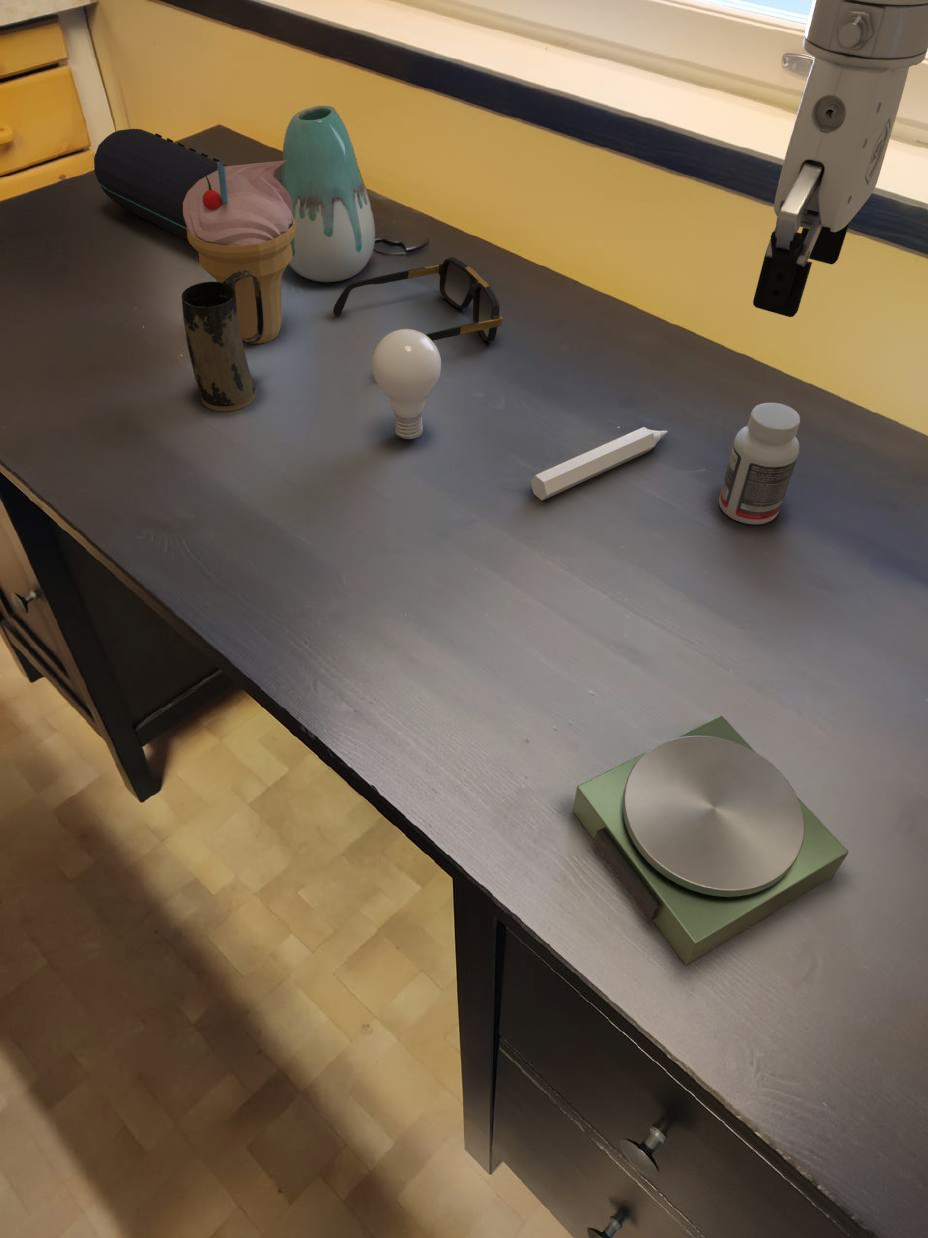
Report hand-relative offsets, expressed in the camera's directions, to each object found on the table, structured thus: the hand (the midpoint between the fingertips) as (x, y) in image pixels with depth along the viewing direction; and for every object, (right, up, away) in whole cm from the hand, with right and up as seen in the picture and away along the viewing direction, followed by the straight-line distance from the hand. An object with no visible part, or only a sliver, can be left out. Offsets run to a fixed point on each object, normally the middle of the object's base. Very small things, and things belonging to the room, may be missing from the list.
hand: (795, 283), depth 70 cm
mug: (-48, -2, +25) cm, 54 cm away
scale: (-10, -40, -10) cm, 42 cm away
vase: (-42, +17, +43) cm, 62 cm away
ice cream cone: (-48, +6, +33) cm, 58 cm away
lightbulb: (-31, -8, +20) cm, 37 cm away
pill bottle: (0, -16, +13) cm, 20 cm away
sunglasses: (-30, +7, +33) cm, 45 cm away
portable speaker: (-61, +25, +50) cm, 83 cm away
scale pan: (-10, -38, -13) cm, 41 cm away
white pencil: (-12, -11, +17) cm, 24 cm away
